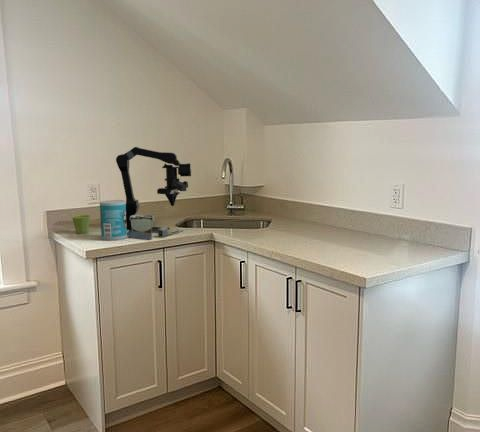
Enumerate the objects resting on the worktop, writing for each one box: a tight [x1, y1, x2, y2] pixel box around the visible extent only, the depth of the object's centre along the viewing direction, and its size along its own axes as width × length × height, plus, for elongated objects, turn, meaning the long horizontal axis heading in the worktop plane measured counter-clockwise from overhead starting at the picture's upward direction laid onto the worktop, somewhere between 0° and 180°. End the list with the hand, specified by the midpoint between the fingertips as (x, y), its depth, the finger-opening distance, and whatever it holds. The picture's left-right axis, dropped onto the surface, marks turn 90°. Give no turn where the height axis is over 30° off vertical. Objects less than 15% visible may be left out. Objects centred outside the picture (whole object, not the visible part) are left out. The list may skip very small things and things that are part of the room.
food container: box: [129, 214, 155, 236], centre depth 242 cm, size 12×6×10 cm, turn 84°
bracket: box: [127, 225, 167, 241], centre depth 241 cm, size 15×16×3 cm
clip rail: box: [157, 227, 184, 239], centre depth 243 cm, size 3×18×4 cm, turn 152°
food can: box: [99, 199, 128, 242], centre depth 234 cm, size 12×12×18 cm
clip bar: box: [167, 226, 173, 235], centre depth 240 cm, size 2×6×4 cm, turn 152°
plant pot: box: [71, 214, 91, 235], centre depth 248 cm, size 9×9×9 cm
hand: (172, 205), depth 259 cm, fingers closed
